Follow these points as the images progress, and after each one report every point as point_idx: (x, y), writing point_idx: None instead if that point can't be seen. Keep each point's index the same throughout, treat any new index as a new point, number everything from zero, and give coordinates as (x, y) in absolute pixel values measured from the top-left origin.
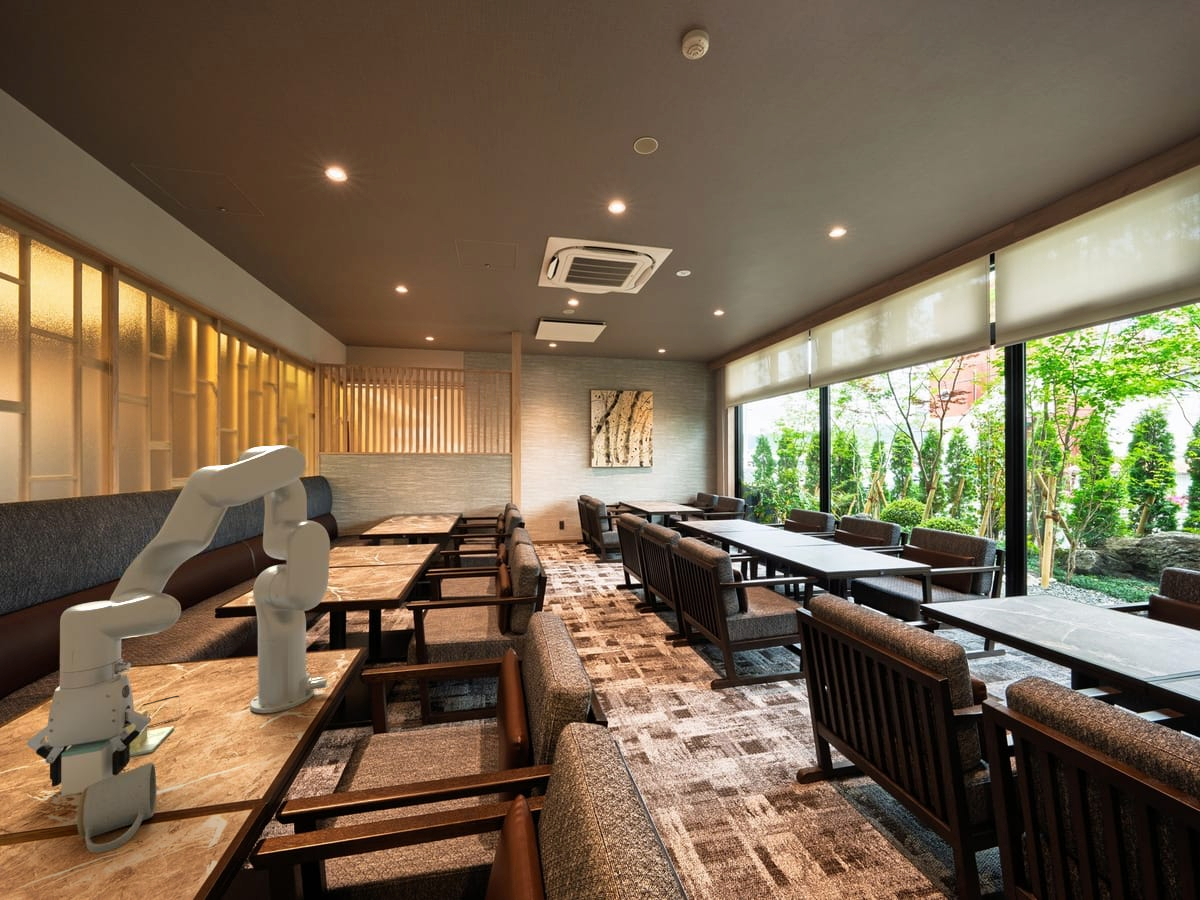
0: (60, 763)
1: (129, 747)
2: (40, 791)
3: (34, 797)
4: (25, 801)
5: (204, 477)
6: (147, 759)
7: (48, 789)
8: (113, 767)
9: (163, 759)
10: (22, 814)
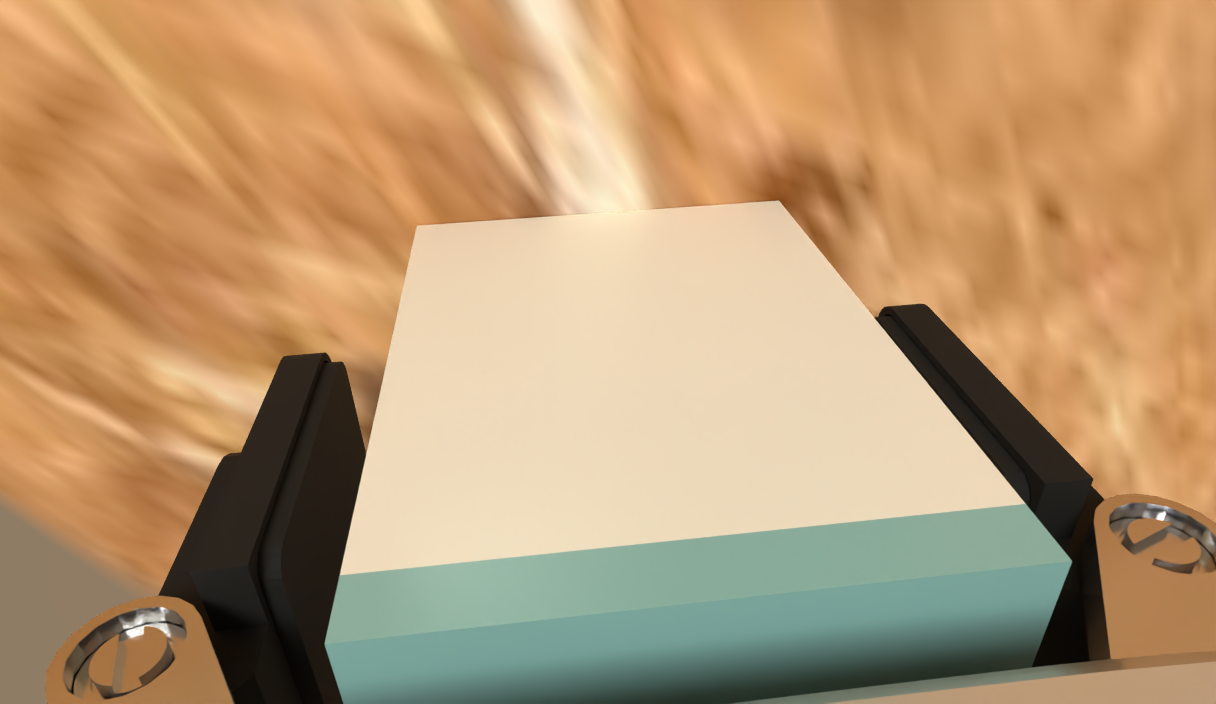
0: (333, 684)
1: (1097, 497)
2: (139, 370)
3: (185, 457)
4: (155, 497)
5: None
6: (1025, 9)
7: (202, 355)
8: None
9: (1196, 89)
10: None
